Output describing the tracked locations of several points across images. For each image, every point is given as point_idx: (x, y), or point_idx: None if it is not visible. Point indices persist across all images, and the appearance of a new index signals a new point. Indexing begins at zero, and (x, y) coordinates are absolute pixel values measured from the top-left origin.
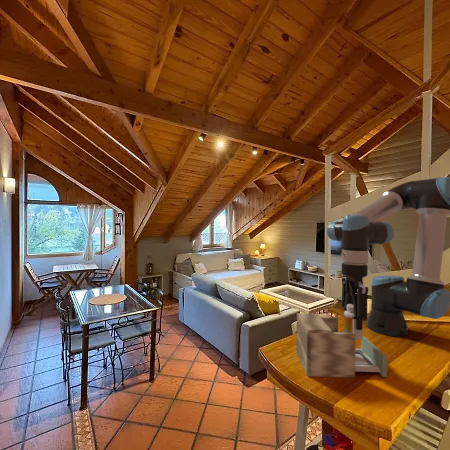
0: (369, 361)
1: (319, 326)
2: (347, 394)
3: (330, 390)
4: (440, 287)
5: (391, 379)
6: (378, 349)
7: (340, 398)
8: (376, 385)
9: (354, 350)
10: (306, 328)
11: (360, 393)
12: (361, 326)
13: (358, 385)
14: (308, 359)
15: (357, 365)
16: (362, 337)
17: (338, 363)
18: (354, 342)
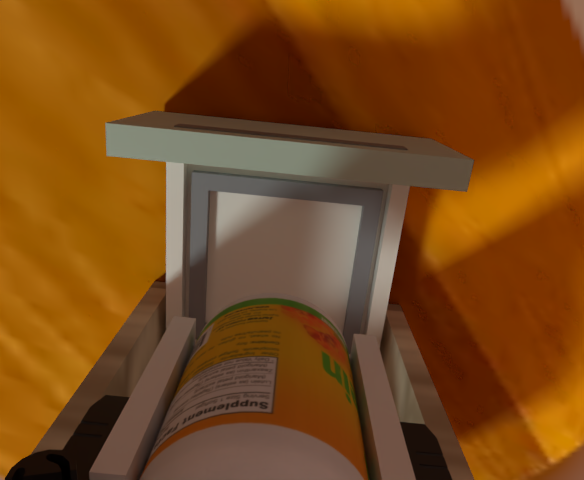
0: (332, 193)
1: None
2: (510, 394)
3: (472, 443)
4: None
5: (441, 115)
6: (351, 150)
7: (526, 430)
8: (476, 235)
9: (438, 403)
10: None
11: (516, 341)
12: (441, 466)
13: (461, 320)
14: None
15: (381, 300)
16: (125, 153)
17: None
18: (458, 451)
